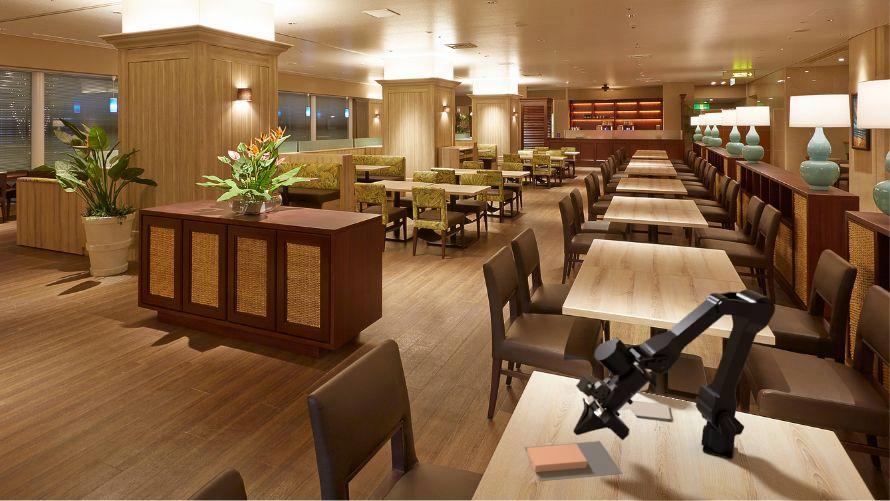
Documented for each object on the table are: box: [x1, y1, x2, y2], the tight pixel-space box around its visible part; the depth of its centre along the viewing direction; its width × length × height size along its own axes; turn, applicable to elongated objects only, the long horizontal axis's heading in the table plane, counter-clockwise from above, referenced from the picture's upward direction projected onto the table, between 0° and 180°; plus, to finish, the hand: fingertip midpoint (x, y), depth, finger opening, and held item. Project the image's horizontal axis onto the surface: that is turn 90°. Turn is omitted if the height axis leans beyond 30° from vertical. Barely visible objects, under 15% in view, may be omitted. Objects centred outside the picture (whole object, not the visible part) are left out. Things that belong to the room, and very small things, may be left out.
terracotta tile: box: [526, 443, 587, 473], centre depth 130 cm, size 2×7×12 cm
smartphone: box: [619, 400, 672, 422], centre depth 153 cm, size 8×1×15 cm
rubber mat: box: [524, 440, 623, 482], centre depth 130 cm, size 19×13×1 cm
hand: (575, 433), depth 129 cm, fingers closed
